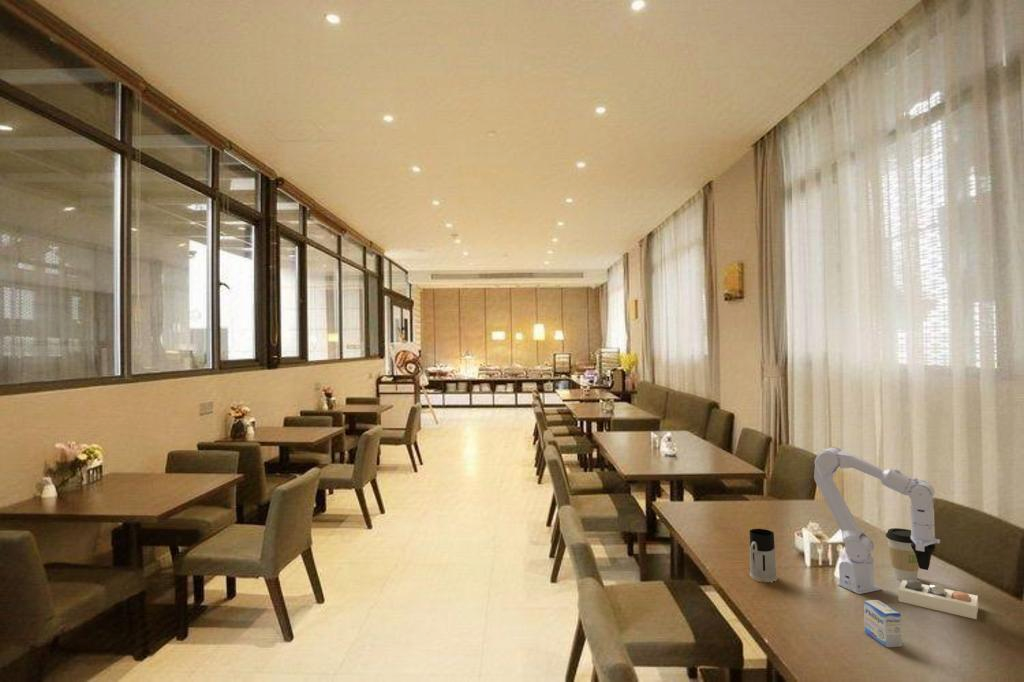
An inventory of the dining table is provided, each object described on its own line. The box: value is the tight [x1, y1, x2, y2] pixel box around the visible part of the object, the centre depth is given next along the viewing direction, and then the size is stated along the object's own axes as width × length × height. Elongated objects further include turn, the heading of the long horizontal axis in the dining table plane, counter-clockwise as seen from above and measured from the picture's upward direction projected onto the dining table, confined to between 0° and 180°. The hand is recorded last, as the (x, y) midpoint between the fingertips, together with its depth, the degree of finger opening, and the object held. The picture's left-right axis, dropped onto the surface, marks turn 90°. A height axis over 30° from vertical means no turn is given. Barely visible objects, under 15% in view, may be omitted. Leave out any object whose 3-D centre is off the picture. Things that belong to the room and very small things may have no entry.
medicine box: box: [863, 599, 903, 649], centre depth 147 cm, size 8×4×9 cm, turn 5°
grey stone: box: [907, 578, 923, 592], centre depth 169 cm, size 4×4×3 cm
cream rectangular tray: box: [897, 580, 979, 620], centre depth 165 cm, size 18×9×4 cm, turn 48°
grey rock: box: [929, 582, 946, 597], centre depth 165 cm, size 4×4×3 cm
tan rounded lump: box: [953, 590, 969, 602], centre depth 161 cm, size 4×4×3 cm
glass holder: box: [749, 528, 778, 583], centre depth 186 cm, size 9×14×15 cm, turn 137°
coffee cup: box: [885, 527, 920, 582], centre depth 184 cm, size 10×10×15 cm
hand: (923, 568), depth 167 cm, fingers closed
